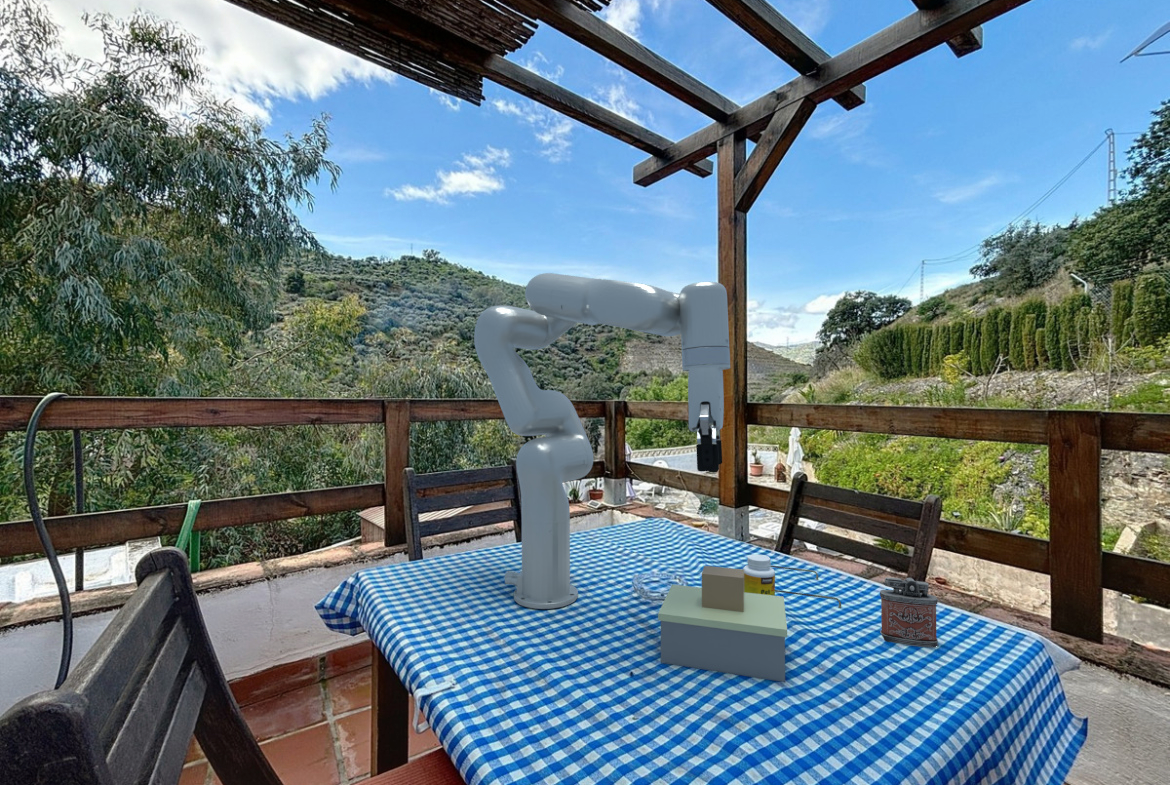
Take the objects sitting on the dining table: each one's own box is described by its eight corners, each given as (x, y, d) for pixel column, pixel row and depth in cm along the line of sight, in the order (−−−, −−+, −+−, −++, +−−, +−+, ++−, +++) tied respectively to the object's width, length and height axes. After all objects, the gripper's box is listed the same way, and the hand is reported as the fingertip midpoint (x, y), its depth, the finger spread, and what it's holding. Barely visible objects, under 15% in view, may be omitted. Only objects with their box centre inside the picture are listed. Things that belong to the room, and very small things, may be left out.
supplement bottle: (761, 622, 93) (761, 564, 93) (736, 611, 98) (736, 556, 98) (781, 615, 96) (781, 558, 96) (756, 605, 101) (756, 551, 101)
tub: (660, 667, 77) (660, 619, 77) (673, 633, 89) (673, 591, 89) (785, 687, 72) (784, 636, 72) (782, 648, 83) (781, 603, 83)
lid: (658, 630, 77) (658, 579, 77) (672, 599, 89) (672, 554, 89) (787, 648, 72) (786, 592, 72) (783, 612, 84) (783, 564, 84)
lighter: (934, 640, 86) (933, 578, 86) (940, 649, 83) (940, 585, 83) (878, 633, 89) (877, 573, 89) (882, 641, 85) (882, 579, 86)
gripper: (688, 365, 95) (692, 462, 94) (675, 357, 78) (680, 474, 78) (731, 363, 92) (736, 461, 92) (727, 354, 76) (733, 474, 75)
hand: (710, 467), depth 85 cm, fingers open, 9 cm apart
